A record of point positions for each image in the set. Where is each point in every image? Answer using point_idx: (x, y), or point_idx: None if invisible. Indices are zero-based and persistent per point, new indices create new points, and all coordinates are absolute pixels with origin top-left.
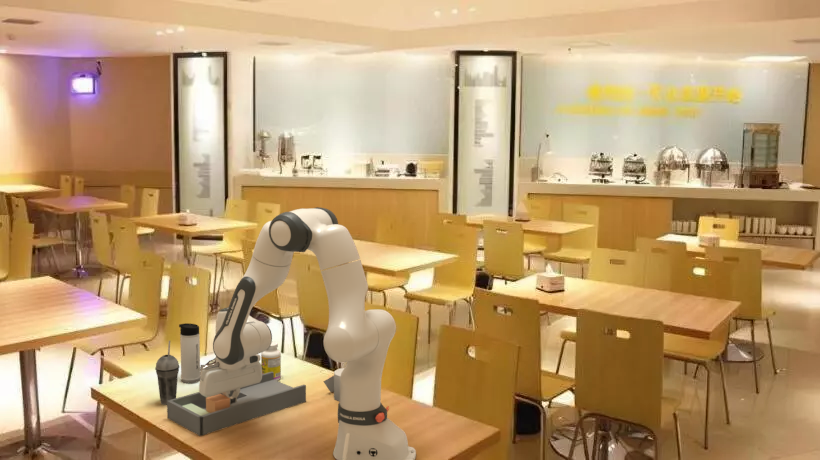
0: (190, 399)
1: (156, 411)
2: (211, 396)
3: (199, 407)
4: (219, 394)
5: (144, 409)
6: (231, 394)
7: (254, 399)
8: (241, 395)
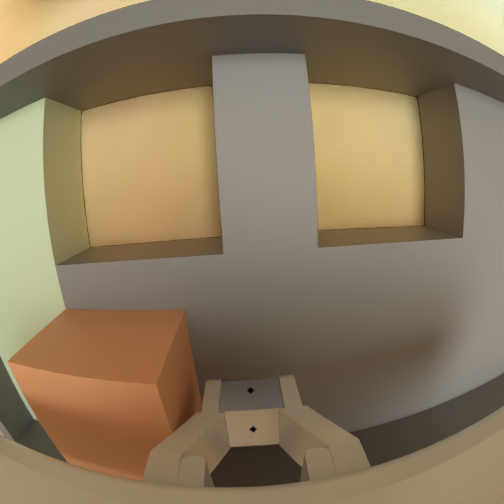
0: (21, 93)
1: (9, 33)
2: (48, 375)
3: (47, 217)
4: (137, 392)
5: (6, 4)
6: (413, 80)
7: (444, 328)
8: (451, 157)
